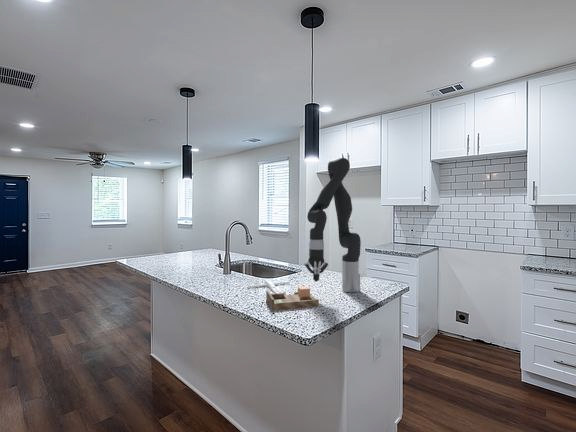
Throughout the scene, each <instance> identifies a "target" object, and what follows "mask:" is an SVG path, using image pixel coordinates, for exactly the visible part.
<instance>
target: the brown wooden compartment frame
mask: <svg viewBox="0 0 576 432" xmlns="http://www.w3.org/2000/svg"><path fill="white" fill-rule="evenodd" d="M265 293H266V297H265V299H266V302H267V304H268V306H269V307H270V309H271V311H278V310H290V309H300V308H302V309H303V308H312V307H319V305H320V299H318V298H317V299H316V298H315V297H314V296H313V295H312V294H311V293H310V296H309V297H300V296H299V295H298V291H294V293H293V294H286V295H284V293H277V294H276V293H271V292H270V291H269V290H266V291H265Z"/></svg>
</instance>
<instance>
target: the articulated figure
mask: <svg viewBox="0 0 576 432" xmlns="http://www.w3.org/2000/svg"><path fill="white" fill-rule="evenodd" d="M289 284H291V281H280V282H273V281H271V280H270V281H269V279H264V283H261V284H253V285H247V289H251V288H262V287H267V288H269V289H270V290H271V292H273V294H277V293H284V295H287V293H286V291H281V290H280V288H279V287H277V286H279V285H281V286H282V285H289Z"/></svg>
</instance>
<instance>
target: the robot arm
mask: <svg viewBox="0 0 576 432" xmlns="http://www.w3.org/2000/svg"><path fill="white" fill-rule="evenodd" d="M350 165H351V164H350V162H349V160H348V159H347V158H345V157H338V158H334V159H330V160H329V161H328V163H327V172H328V177H329V181H328V182H327V183H326V184H325V185H324V186H323V188H322V189H321V191H320V192H319V195H318V196H317V199H316V201H315V202H314V203H313V205H312V206H311V207H310V209H309V210H308V212H307V220H308V222H309V223H311V224H314V227H312V228H310V230H309V243H308V244H309V246H308V247H309V250H308V253H309V254H308V257H309V258H308V261H307V262H306V263H304V267H305V268H306V269H307V270H308V272H309V273H310V274H312V277H313V278H312V280H314V282H319V281H320V274H322V273H323V272H324V271H325V270H326V268H327V267H329V263H328V262H326V261H325V258H324V257H325V256H324V254H325V253H324V252H325V251H324V250H325V248H324V247H325V246H324V245H325V244H324V232H325V231H324V230H325V229H326V224H327V218H328V217H327V213H326V211H324V210H326V209H328V207H330V204H331V202H332V199H334V206H335V212H336V219H337V226H338V228H337V229H338V241H339V242H338V243H339V245H340V247H342V248H343V249H347V252H346V254H345V253H344V254H343V255H342V257H341V259H342V260H341V263H342V265H341V268H342V269H341V271H342V272H341V274H342V276H341V279H342V280H341V281H342V282H341V284H342V285H341V287H342V288H341V289H342V291H343V292H346V293H351V294H352V293H358V292H361V274H360V271H359V268H360V265H359V264H360V260H359V259H360V255H361V245H362V244H361V243H362V241H361V237H360V234H358V233H357V232H350V226H349V222H350V219H351V215H352V213H353V204H352V197H351V196H350V194H349V192H348V191H347V189H346V187H345V186H344V184H343V181H344V179H345V177H346V176H347V175H348V173H349V171H350V167H351V166H350ZM311 267H312V268H311Z"/></svg>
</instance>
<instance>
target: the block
mask: <svg viewBox="0 0 576 432" xmlns="http://www.w3.org/2000/svg"><path fill="white" fill-rule="evenodd" d="M297 292H298V295H299V296H300V297H309V296H310V294H311V288H310V287H309V286H298V287H297Z"/></svg>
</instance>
